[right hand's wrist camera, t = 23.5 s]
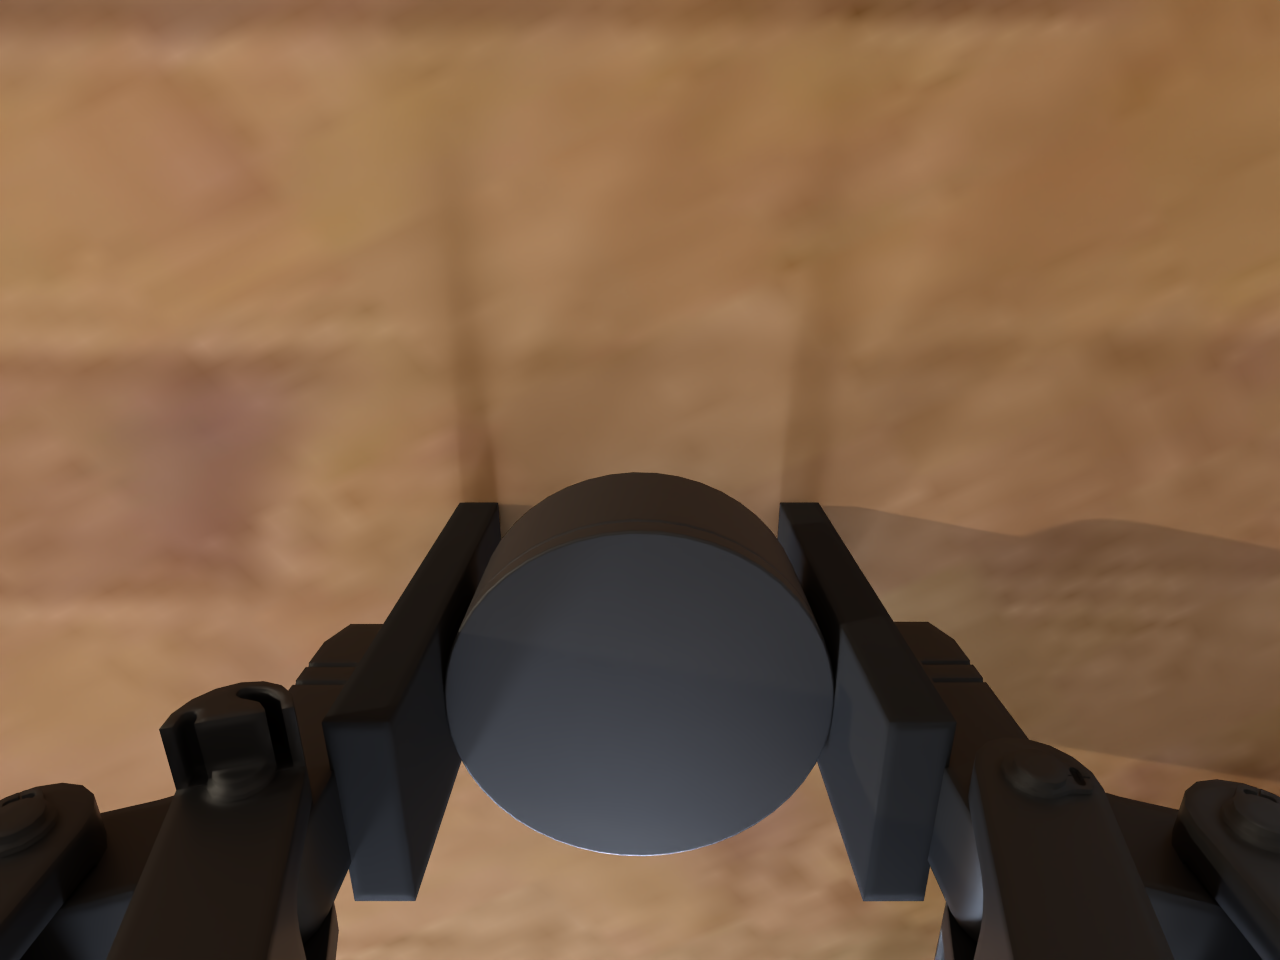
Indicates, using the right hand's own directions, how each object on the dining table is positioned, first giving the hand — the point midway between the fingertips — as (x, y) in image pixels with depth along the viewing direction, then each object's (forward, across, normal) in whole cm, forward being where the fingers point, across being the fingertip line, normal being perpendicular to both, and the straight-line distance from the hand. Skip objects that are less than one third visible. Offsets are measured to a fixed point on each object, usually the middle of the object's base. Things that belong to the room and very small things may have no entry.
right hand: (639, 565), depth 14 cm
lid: (-4, 0, 0) cm, 4 cm away
